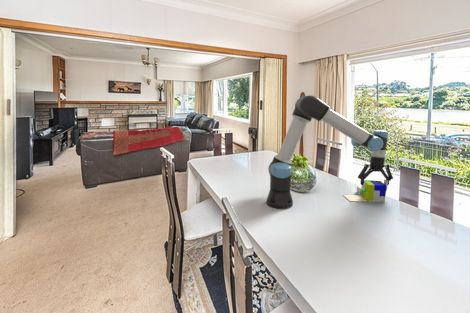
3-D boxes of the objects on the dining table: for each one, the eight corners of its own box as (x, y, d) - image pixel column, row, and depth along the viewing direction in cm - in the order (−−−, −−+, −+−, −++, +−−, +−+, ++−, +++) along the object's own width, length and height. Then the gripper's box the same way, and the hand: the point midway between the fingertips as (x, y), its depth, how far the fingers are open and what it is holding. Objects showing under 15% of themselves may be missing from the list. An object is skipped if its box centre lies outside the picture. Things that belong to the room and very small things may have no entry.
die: (359, 194, 164) (360, 188, 164) (356, 192, 169) (357, 185, 168) (366, 194, 164) (367, 188, 163) (363, 192, 169) (364, 185, 168)
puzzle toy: (384, 201, 152) (386, 185, 150) (366, 200, 153) (368, 184, 151) (378, 196, 161) (380, 180, 159) (361, 194, 163) (363, 180, 161)
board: (349, 201, 152) (349, 201, 152) (342, 195, 163) (342, 194, 163) (386, 202, 152) (386, 201, 152) (376, 195, 163) (376, 195, 163)
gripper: (359, 157, 148) (356, 191, 153) (402, 157, 148) (397, 192, 152) (354, 154, 156) (350, 187, 160) (395, 155, 155) (390, 188, 160)
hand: (373, 190), depth 156 cm, fingers open, 13 cm apart
